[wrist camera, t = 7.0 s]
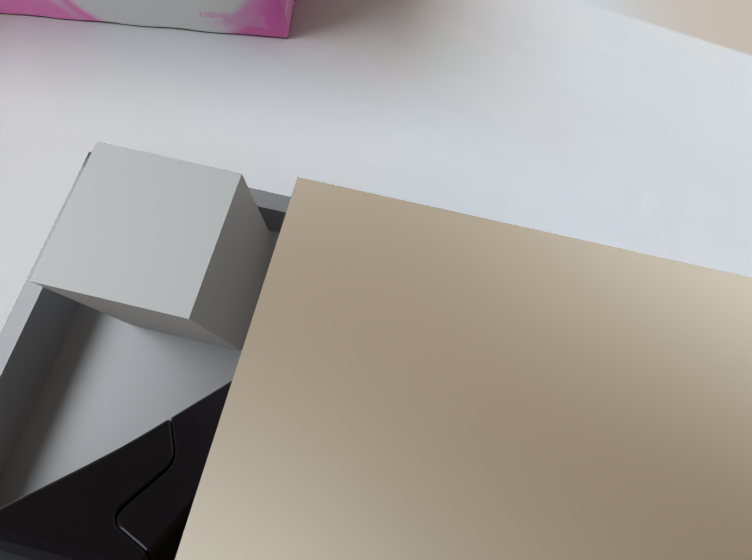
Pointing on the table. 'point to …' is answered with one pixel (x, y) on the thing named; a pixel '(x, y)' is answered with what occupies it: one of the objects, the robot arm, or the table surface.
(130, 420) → the tray
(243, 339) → the grey box
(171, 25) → the gum box
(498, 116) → the table surface
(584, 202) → the table surface
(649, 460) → the walnut box
